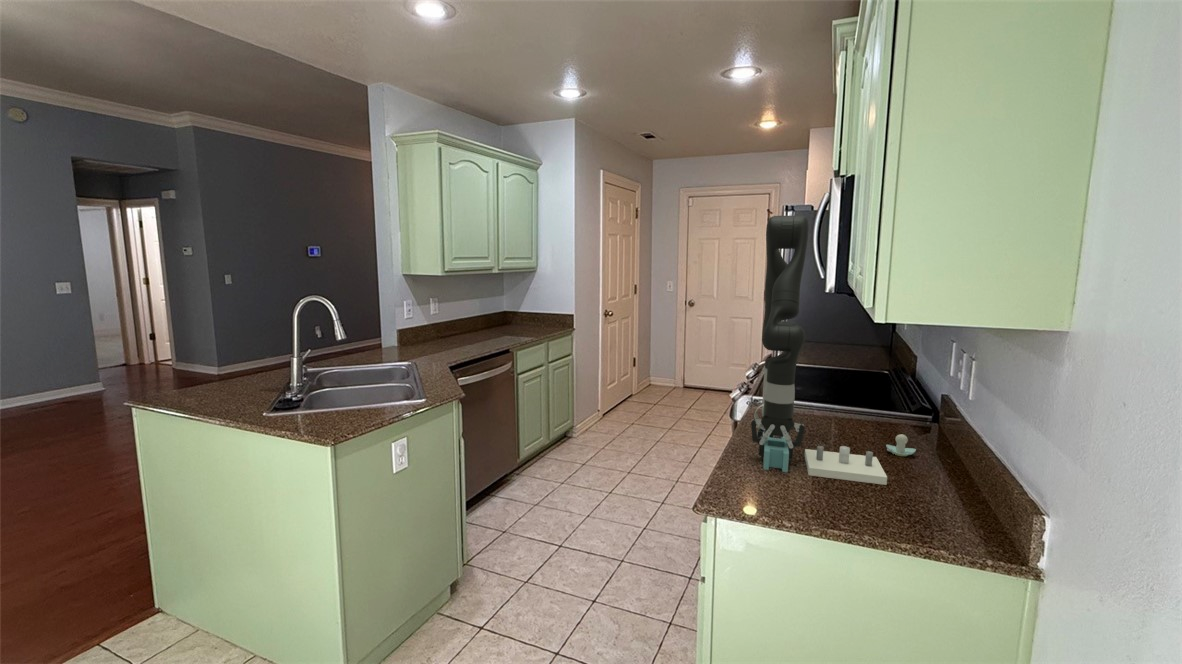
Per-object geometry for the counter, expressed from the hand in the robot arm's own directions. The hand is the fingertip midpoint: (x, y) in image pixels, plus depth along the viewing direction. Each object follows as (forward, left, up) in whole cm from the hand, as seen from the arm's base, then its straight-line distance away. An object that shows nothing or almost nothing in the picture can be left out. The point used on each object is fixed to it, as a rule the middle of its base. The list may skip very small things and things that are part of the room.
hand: (775, 458), depth 150 cm
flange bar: (0, 0, -1) cm, 1 cm away
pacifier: (-18, +34, -1) cm, 39 cm away
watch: (-17, -2, -1) cm, 17 cm away
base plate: (0, +17, -1) cm, 17 cm away
